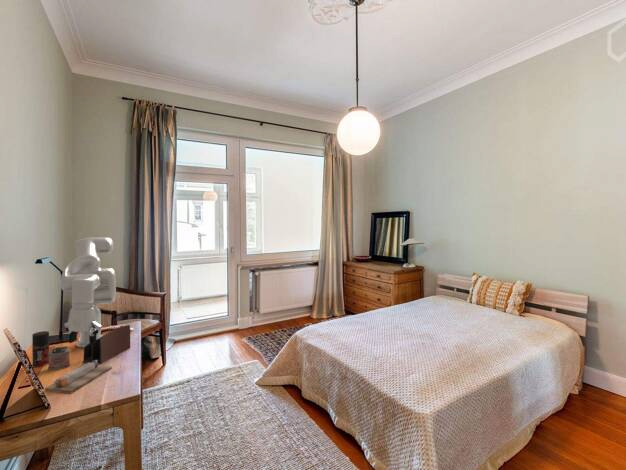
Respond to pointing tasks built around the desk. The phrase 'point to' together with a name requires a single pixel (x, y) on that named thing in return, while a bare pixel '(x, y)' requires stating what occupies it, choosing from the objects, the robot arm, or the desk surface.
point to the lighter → (59, 358)
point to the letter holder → (108, 345)
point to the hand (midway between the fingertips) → (83, 342)
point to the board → (80, 380)
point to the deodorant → (40, 348)
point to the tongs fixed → (72, 372)
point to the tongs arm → (77, 374)
